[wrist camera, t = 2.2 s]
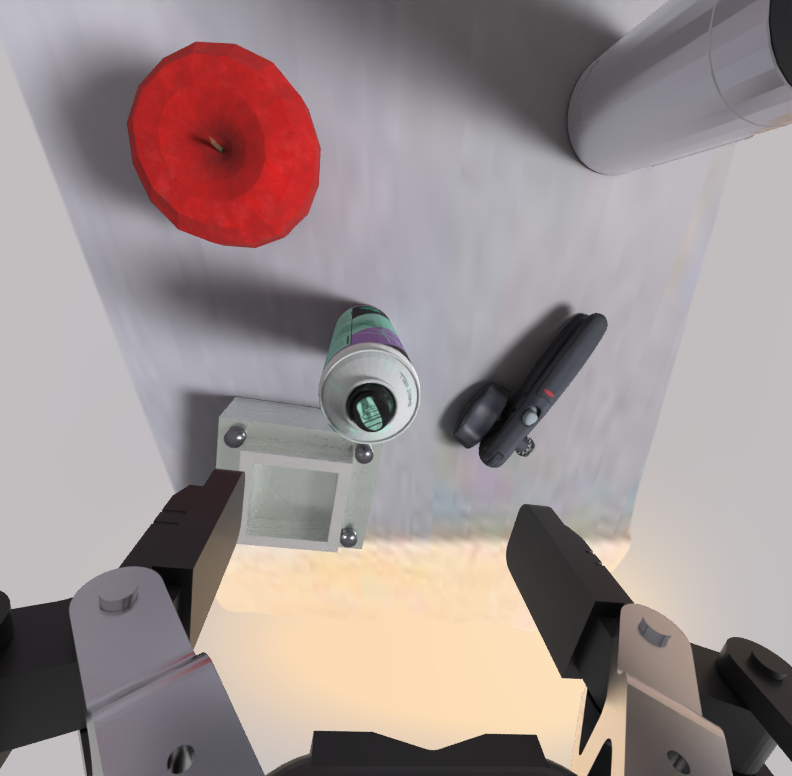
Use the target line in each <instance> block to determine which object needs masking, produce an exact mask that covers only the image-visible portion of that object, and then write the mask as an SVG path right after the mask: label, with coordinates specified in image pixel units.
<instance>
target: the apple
mask: <svg viewBox="0 0 792 776" xmlns="http://www.w3.org/2000/svg"><path fill="white" fill-rule="evenodd" d="M127 126H128V133H129V140H130V147H131V154H132V161H133V165H134V167H135V169H136V171H137V173H138V175H139V177H140V179H141V182H142V184H143V186H144V188H145V190H146V192H147V194H148V196H149V198H150V200H151V202H152V203H153V204H154V205H155V206H156V207H157V208H158V209H159V210H160V211H161V212H162V213H163V214H164V215H165V216H166V217H167V218H168V219H169V220H170V221H171V222H172V223H173V224H174V225H175V226H176V227H177V228H178V229H179V230H181V231H184V232H186V233H189V234H192V235H194V236H197V237H200V238H202V239H205V240H207V241H210V242H213V243H216V244H220V245H224V246H237V247H250V248H257V247H259V246H262V245H265V244H268V243H270V242H273V241H276V240H278V239H281V238H284V237H285V236H287V235H288V234H289V233H290V232H291V230H292V229H293V228H294V227H295V226H296V225H297V224H298V223H299V222H300V221H301V220H302V219H303V218H304V217H305V216H307V215H308V213H309V210H310V207H311V205H312V202H313V199H314V196H315V194H316V191H317V188H318V186H319V171H320V150H321V148H320V145H319V141H318V138H317V135H316V132H315V129H314V125H313V122H312V119H311V116H310V113H309V109H308V108H307V106H306V104H305V103H304V101H303V99H302V98H301V96H300V95H299V94H298V93H297V91H296V90H295V89H294V88H293V86H292V85H291V84H290V83H289V82H288V80H287V79H286V78H285V77H284V75H283V74H282V73H281V72H280V71H279V69H278V68H277V67H276V66H275V64H274V63H273V62H271V61H269V60H267V59H265V58H263V57H261V56H259V55H257V54H255V53H253V52H251V51H248V50H246V49H244V48H242V47H240V46H238V45H236V44H228V43H210V42H194V43H192V44H190V45H189V46H187V47H185V48H183V49H181V50H179V51H177V52H175V53H173V54H171V55H169V56H167V57H165V58H163V59H162V60H161V61H160V63H159V64H158V65H157V66H156V67H155V68H154V69H153V70H152V71H151V73H150V74H149V75H148V76H147V77H146V78H145V79H144V80H143V81H142V83H141V84H140V85H139V86H138V90H137V93H136V96H135V99H134V102H133V105H132V108H131V112H130V115H129V118H128V121H127Z"/></svg>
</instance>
